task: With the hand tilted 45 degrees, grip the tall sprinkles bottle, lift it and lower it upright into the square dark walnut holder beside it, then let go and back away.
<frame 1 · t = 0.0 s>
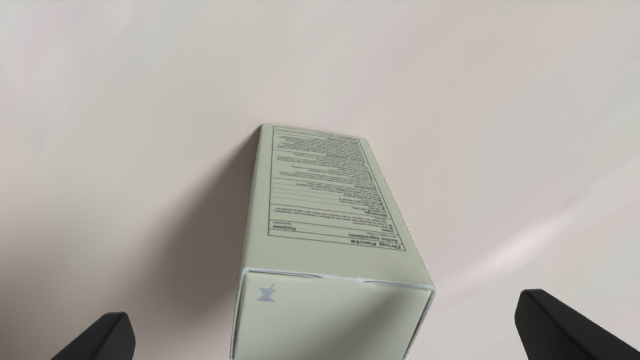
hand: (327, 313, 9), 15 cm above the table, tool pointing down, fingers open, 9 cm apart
skincare box: (311, 162, 24), on the table
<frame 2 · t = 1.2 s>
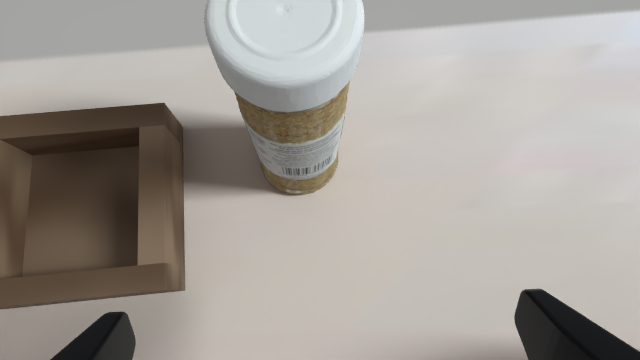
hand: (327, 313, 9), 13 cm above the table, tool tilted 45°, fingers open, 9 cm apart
walnut holder: (98, 212, 23), on the table
sprinkles bottle: (298, 160, 24), on the table
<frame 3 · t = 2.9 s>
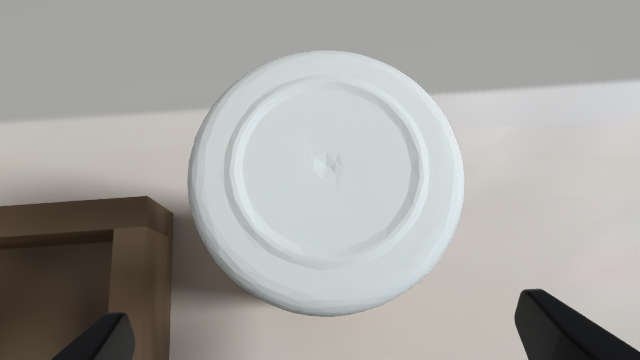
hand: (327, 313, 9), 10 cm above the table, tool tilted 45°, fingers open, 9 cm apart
walnut holder: (60, 326, 18), on the table
sprinkles bottle: (317, 260, 19), on the table
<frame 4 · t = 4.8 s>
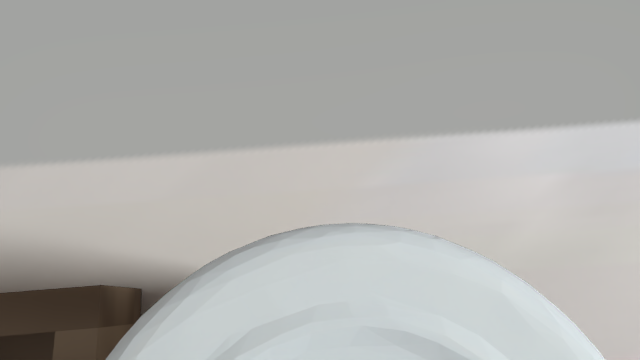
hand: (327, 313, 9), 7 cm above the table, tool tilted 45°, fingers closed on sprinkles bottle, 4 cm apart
sprinkles bottle: (322, 348, 16), on the table, touching gripper
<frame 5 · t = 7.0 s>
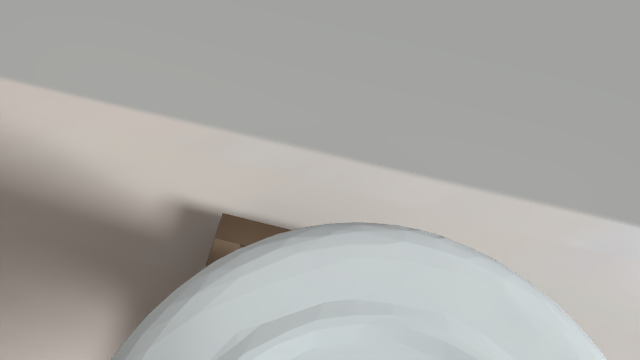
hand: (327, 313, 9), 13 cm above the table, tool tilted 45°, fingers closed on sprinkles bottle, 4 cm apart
walnut holder: (294, 332, 22), on the table
sprinkles bottle: (321, 346, 16), point 6 cm above the table, touching gripper
when the fingers open (8 cm above the table, at t = 9.1 s): sprinkles bottle stays where it is, resting on walnut holder.
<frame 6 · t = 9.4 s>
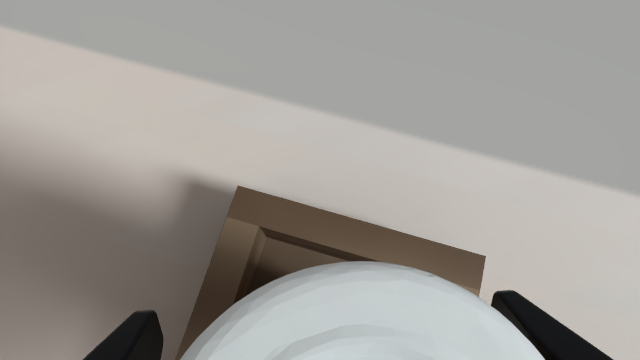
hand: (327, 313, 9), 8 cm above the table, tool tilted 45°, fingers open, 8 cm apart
walnut holder: (322, 344, 17), on the table
sprinkles bottle: (320, 349, 17), resting on walnut holder
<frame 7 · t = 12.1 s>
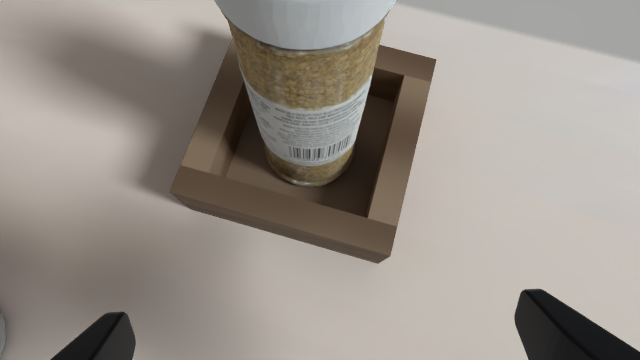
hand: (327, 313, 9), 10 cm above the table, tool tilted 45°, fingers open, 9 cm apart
walnut holder: (310, 148, 21), on the table
sprinkles bottle: (309, 148, 21), resting on walnut holder
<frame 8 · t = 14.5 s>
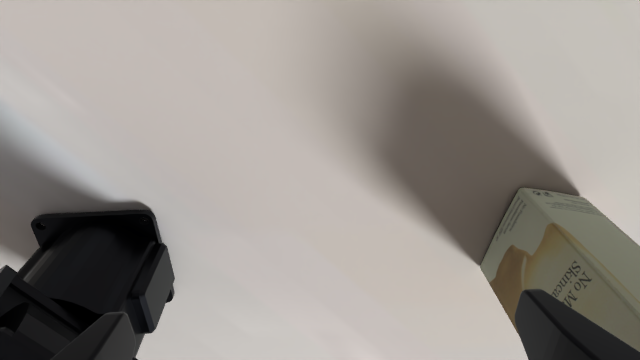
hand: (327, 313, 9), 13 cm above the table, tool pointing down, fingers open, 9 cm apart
skincare box: (526, 232, 25), on the table
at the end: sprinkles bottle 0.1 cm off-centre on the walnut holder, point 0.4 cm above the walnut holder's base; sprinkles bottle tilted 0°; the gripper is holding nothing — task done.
